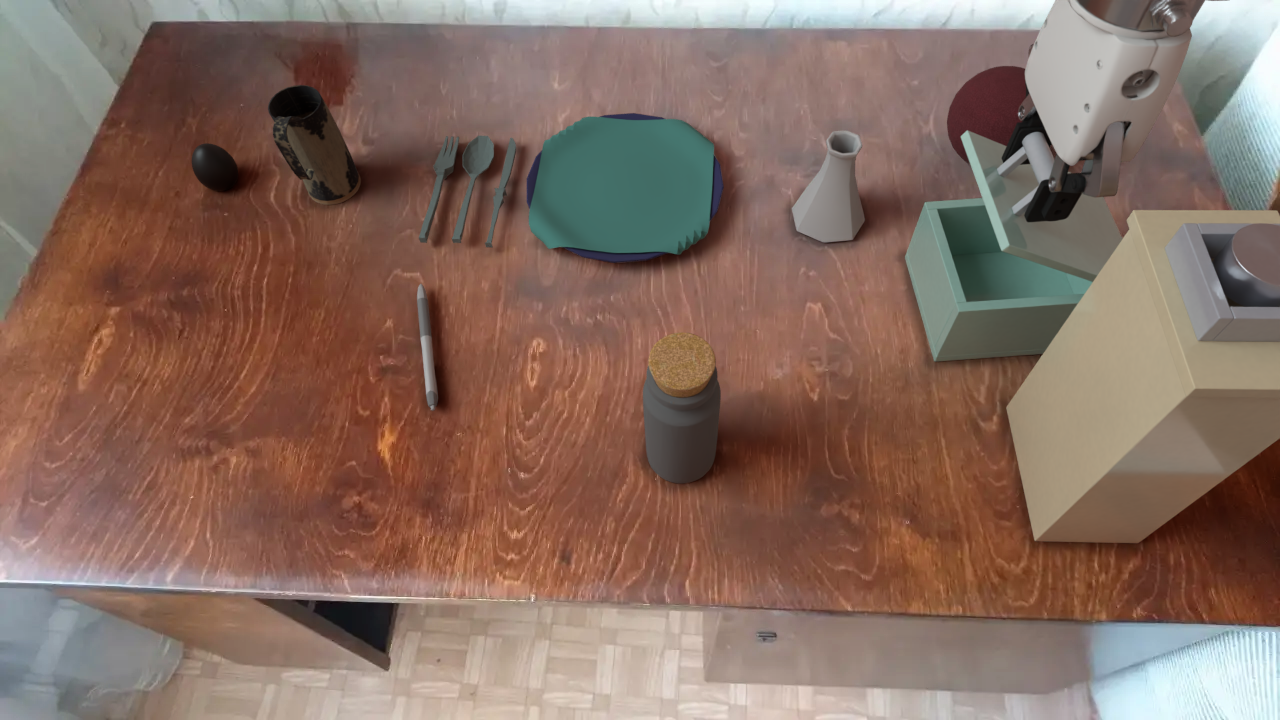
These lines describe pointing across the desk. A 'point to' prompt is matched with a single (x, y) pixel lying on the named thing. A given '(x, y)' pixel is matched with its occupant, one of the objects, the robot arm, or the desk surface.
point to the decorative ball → (987, 106)
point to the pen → (427, 348)
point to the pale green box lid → (1009, 192)
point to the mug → (313, 144)
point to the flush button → (1251, 266)
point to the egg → (214, 167)
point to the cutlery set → (604, 187)
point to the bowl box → (983, 287)
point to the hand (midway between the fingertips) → (1033, 187)
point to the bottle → (681, 407)
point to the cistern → (1148, 386)
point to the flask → (832, 194)
